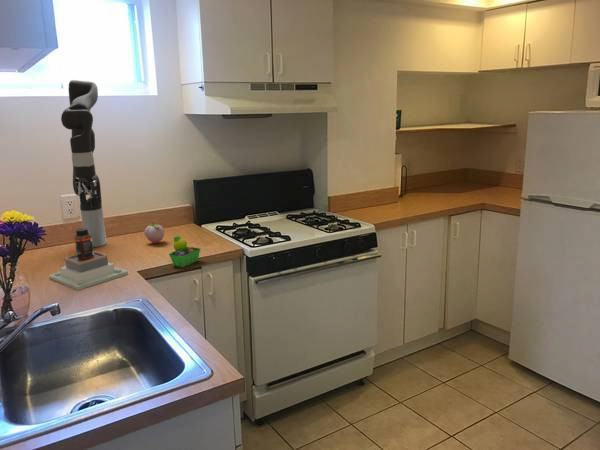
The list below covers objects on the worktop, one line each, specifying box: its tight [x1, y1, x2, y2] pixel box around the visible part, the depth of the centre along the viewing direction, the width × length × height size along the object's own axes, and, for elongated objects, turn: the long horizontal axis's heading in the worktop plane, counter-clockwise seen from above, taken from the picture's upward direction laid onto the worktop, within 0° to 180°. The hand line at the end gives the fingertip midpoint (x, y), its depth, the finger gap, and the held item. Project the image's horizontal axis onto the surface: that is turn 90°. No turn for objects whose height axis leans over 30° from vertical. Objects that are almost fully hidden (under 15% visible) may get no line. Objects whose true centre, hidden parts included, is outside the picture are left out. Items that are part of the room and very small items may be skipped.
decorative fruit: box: [144, 222, 166, 244], centre depth 228 cm, size 9×8×10 cm
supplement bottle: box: [74, 227, 95, 260], centre depth 185 cm, size 6×6×11 cm
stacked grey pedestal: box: [48, 250, 129, 291], centre depth 187 cm, size 22×20×8 cm
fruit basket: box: [168, 235, 201, 268], centre depth 198 cm, size 11×9×11 cm
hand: (89, 206), depth 189 cm, fingers open, 8 cm apart
